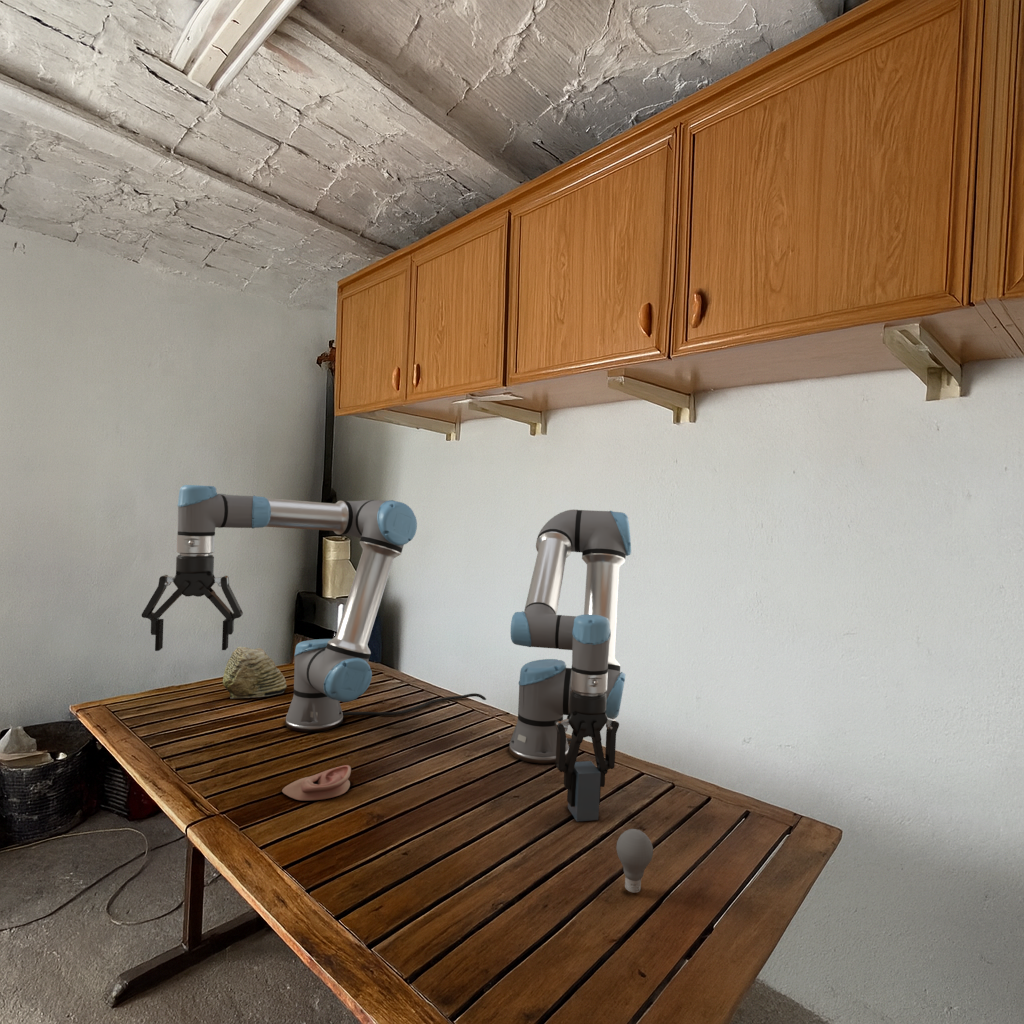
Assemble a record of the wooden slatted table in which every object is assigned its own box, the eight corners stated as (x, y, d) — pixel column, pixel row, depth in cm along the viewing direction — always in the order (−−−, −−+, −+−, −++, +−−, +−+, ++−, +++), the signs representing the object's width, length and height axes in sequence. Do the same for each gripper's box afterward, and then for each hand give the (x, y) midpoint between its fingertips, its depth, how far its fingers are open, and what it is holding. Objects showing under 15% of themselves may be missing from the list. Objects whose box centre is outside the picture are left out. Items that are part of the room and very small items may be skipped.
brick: (576, 821, 128) (578, 773, 128) (567, 807, 134) (569, 761, 133) (598, 820, 129) (600, 772, 129) (588, 806, 135) (591, 760, 135)
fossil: (218, 695, 195) (220, 647, 195) (278, 685, 208) (279, 640, 207) (228, 703, 189) (230, 653, 188) (289, 692, 201) (290, 645, 201)
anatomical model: (274, 778, 132) (303, 756, 144) (273, 796, 132) (302, 774, 144) (333, 786, 130) (357, 764, 141) (332, 805, 130) (357, 781, 141)
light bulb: (610, 879, 108) (613, 822, 108) (644, 879, 109) (647, 822, 109) (619, 902, 102) (622, 840, 102) (655, 901, 103) (658, 840, 103)
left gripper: (127, 554, 135) (123, 653, 135) (252, 557, 140) (248, 652, 141) (139, 551, 142) (136, 645, 142) (257, 554, 147) (254, 644, 148)
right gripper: (552, 697, 125) (547, 814, 126) (636, 695, 129) (630, 808, 130) (542, 686, 133) (537, 796, 133) (621, 684, 137) (616, 791, 137)
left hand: (192, 649), depth 141 cm, fingers open, 13 cm apart
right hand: (583, 802), depth 131 cm, fingers closed on brick, 5 cm apart
